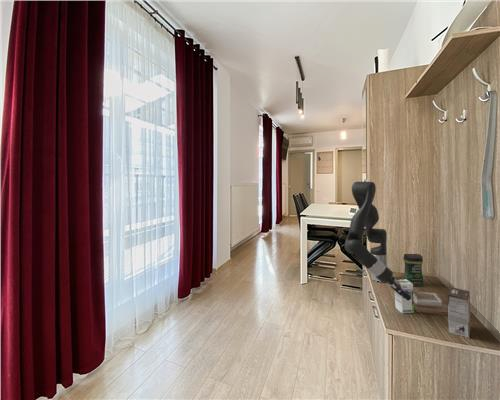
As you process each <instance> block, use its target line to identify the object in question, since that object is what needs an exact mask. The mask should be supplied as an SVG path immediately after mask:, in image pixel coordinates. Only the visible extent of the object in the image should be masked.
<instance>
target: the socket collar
mask: <svg viewBox="0 0 500 400" xmlns="http://www.w3.org/2000/svg"><path fill="white" fill-rule="evenodd" d="M436 294H437V293H435V292H427V291H426V292H425V291H414V290H413V296H414V301H415V303H416V305H417V306H423V307H432V308H442V302H441V300H440V299H439V298H438V297H437V296H436ZM418 298H421V299H418ZM422 299H432V300H434V301H432V300H422Z"/></svg>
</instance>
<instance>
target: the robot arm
mask: <svg viewBox="0 0 500 400" xmlns="http://www.w3.org/2000/svg"><path fill="white" fill-rule="evenodd" d="M376 188H377V186H376V183H375V182H374V181H355V182H353V183H352V186H351V193H352V196H353V199H354V201H355V204H356V205H357V208H358V210H357V211H356V212H355V213H354V214H353V216H352V218H351V220H350V225H349V229H348V230H349V231H348V234H347V236H346V239H345V241H344V250H345V251H346V252H347V253H348V254H352V255H353V256H355V257H356V258H357V259H358V260H359V262H360V263H361V265H363V267H365V268H366V269H367V271H368V272H370V273H371V280H372V281H374V280H375V281H374V282H377V281H379V282H378V283H386V282H387V285H388V286H389V287H390V288H391V289H393V291H394V292H395V291H396V292H397V293H398V294H399V295H400V296H401V295H402V296H403V297H404V298H405V299H406V300H408V301H409V300H410V299H411V297H410V296H409V295H408V294H407V293H406V292H405V291H404V290H403V289H402V288H401V286H400V285H399V283H398V282H397V281H396V280H397V279H396V277H394V276H393V275H394V272H393V271H392V270H391V269H390V268H389V267H388V252H387V237H388V236H387V235H388V234H387V230H386V229H384V228H374V227H375V225H377V223H378V222H379V219H380V214H379V211H378V209H377V207H376V206H375V205H374V204H373V202H374V199H375V195H376V190H377V189H376ZM365 232H366V238H367V241H368V242H369V243H372V244H380V245H378V246H374V247H371V248H370V251H369V249H368V248H367V247H366V246H365V245H364V244H363V243H362V241H361V239H362V237H363V235H364V233H365ZM398 285H399V286H398ZM399 290H401V292H399Z"/></svg>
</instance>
